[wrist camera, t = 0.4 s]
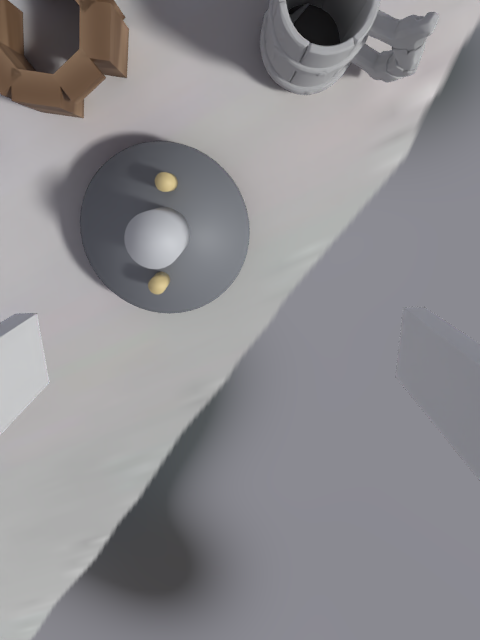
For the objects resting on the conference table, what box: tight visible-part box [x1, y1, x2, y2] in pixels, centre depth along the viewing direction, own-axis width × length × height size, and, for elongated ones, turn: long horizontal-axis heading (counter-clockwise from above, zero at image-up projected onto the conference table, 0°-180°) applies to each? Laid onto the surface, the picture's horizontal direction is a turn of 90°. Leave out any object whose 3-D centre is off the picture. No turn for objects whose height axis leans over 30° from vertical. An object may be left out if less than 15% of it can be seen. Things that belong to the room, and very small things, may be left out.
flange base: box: [80, 141, 250, 313], centre depth 35 cm, size 15×15×8 cm
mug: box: [260, 0, 439, 95], centre depth 29 cm, size 8×12×12 cm, turn 70°
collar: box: [0, 0, 129, 118], centre depth 32 cm, size 11×11×5 cm
